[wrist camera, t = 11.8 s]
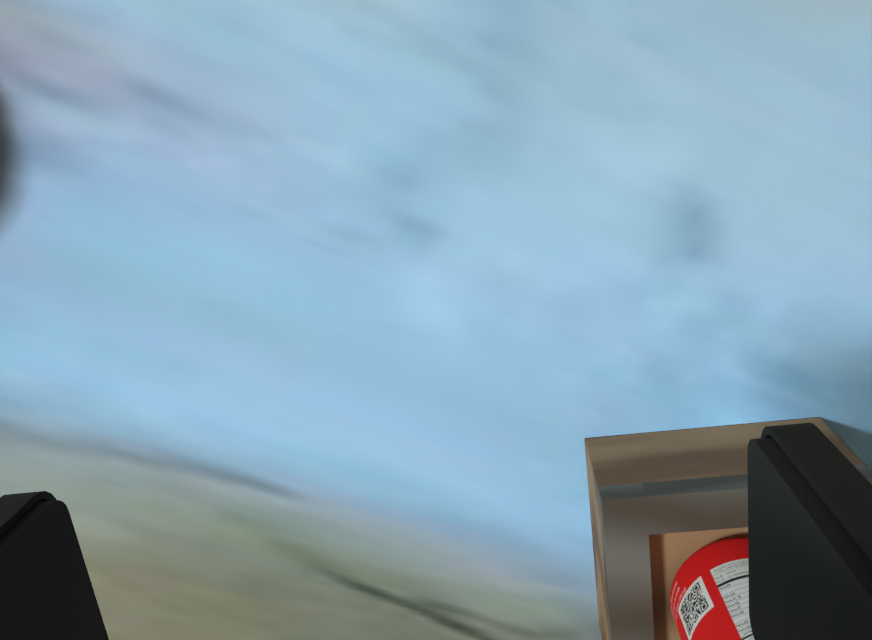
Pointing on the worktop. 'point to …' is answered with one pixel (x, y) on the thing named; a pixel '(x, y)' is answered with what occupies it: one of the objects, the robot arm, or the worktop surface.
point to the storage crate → (666, 514)
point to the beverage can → (713, 593)
